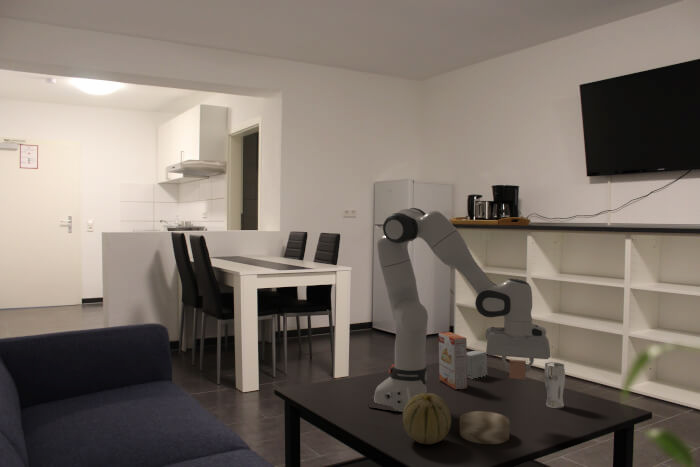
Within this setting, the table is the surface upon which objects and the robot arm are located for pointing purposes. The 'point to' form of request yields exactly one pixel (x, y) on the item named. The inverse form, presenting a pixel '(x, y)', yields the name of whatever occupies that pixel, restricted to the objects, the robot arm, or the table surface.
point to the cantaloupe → (427, 418)
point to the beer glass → (554, 384)
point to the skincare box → (476, 364)
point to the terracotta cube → (517, 369)
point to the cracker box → (453, 360)
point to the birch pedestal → (484, 427)
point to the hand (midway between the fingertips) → (517, 370)
